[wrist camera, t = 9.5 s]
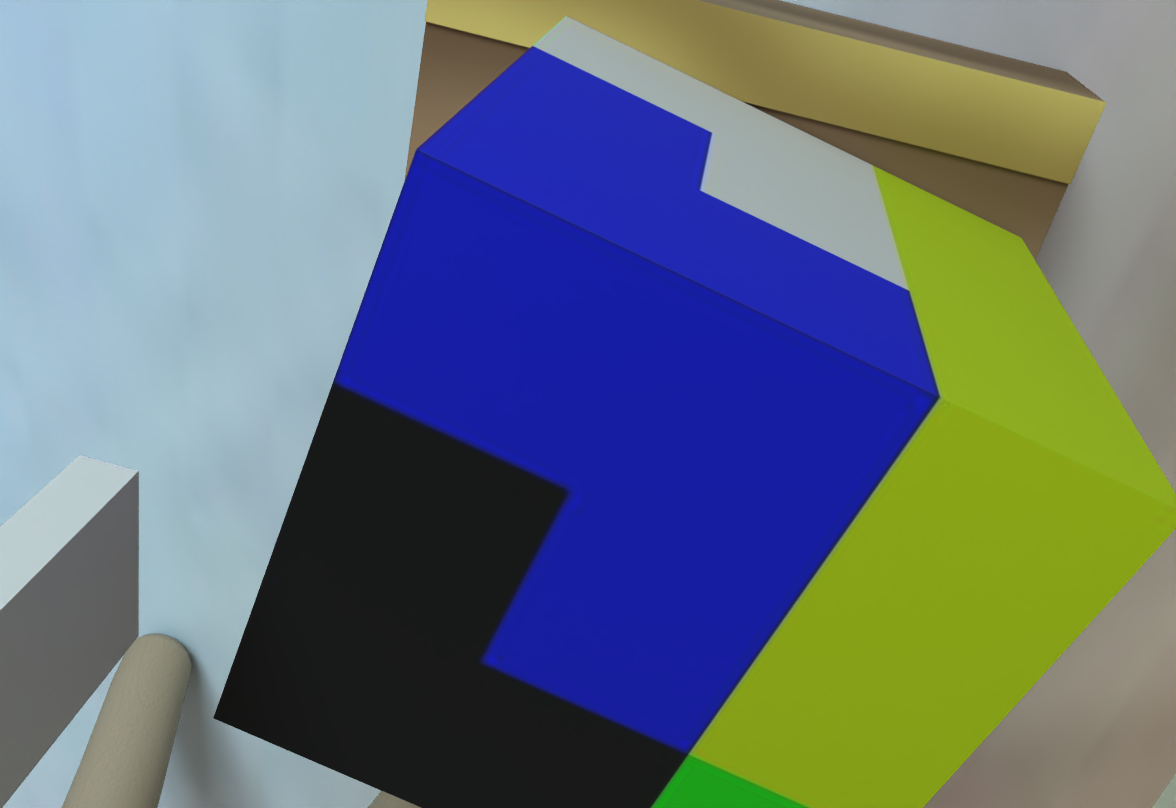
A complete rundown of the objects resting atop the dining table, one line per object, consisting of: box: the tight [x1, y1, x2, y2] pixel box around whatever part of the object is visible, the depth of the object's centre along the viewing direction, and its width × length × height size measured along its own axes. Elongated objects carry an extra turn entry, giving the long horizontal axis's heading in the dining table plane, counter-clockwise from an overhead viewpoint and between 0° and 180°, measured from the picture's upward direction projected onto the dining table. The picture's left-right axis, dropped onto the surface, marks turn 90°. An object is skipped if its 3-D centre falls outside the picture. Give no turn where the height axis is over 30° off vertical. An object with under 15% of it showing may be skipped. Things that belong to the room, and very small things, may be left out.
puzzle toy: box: [214, 16, 1176, 808], centre depth 19 cm, size 10×10×10 cm
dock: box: [405, 0, 1106, 259], centre depth 24 cm, size 15×13×6 cm
